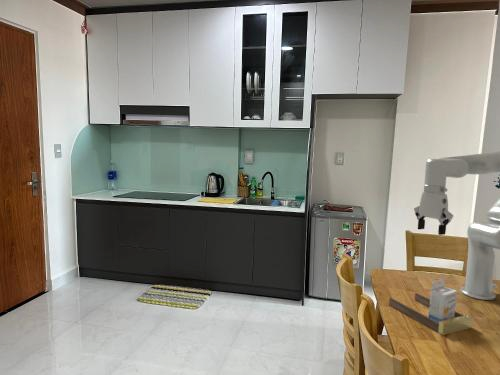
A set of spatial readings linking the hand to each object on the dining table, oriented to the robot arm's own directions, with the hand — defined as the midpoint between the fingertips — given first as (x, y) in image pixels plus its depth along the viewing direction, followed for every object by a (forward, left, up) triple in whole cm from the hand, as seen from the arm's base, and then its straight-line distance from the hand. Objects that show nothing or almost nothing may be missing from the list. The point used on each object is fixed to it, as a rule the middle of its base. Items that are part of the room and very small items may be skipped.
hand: (431, 231), depth 139 cm
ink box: (+11, +16, -28) cm, 35 cm away
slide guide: (+12, +11, -28) cm, 33 cm away
